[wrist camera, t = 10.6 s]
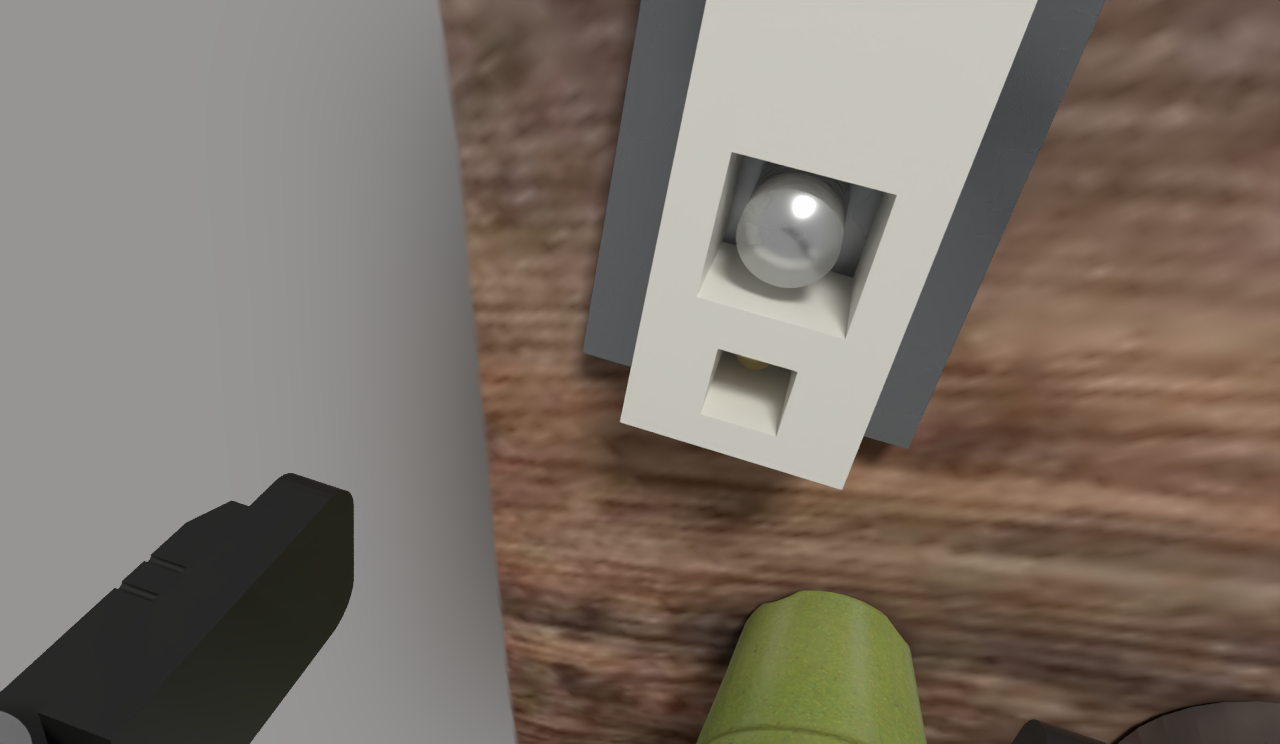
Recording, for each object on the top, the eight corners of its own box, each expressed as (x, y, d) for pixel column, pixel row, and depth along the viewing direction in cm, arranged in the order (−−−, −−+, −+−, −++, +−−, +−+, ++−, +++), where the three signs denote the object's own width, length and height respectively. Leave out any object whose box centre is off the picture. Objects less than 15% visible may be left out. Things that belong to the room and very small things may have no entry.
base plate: (908, 421, 27) (907, 514, 23) (596, 330, 28) (548, 404, 24) (1105, -39, 20) (1151, -10, 16) (677, -134, 21) (627, -129, 17)
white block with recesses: (749, -88, 20) (721, -75, 17) (1018, -26, 19) (1038, -2, 16) (651, 358, 26) (619, 422, 23) (849, 416, 26) (842, 489, 23)
